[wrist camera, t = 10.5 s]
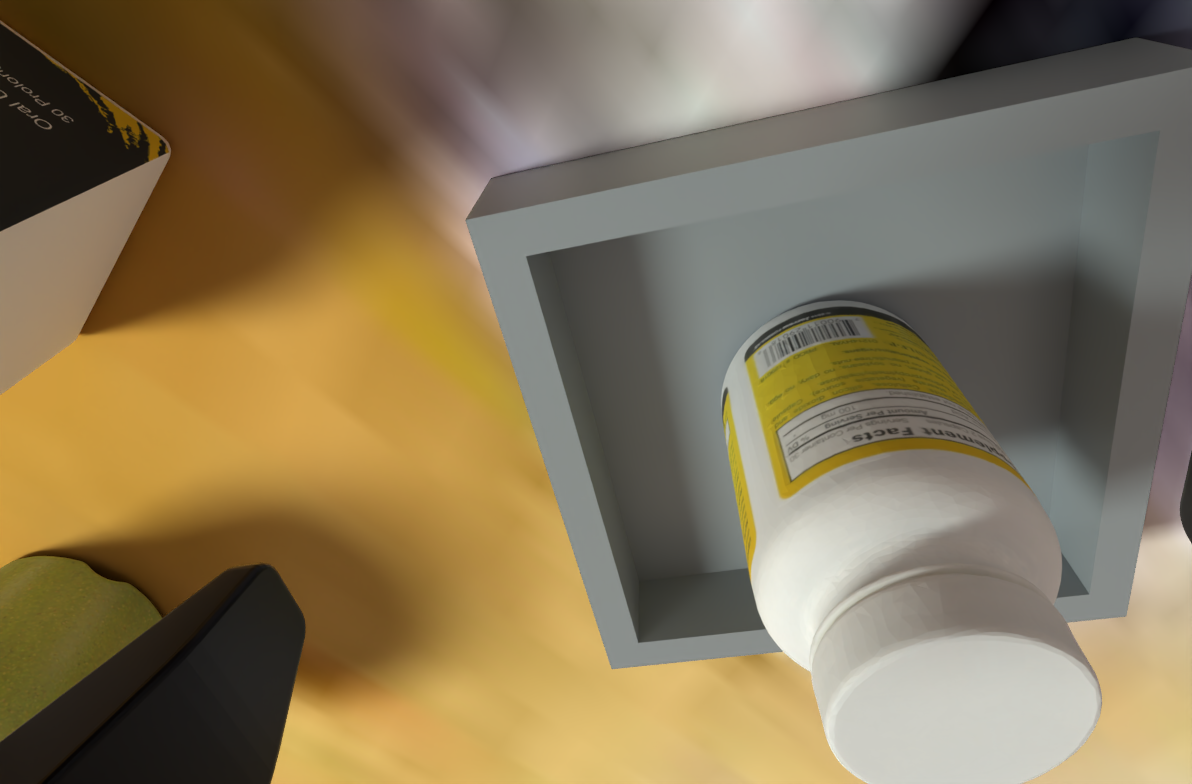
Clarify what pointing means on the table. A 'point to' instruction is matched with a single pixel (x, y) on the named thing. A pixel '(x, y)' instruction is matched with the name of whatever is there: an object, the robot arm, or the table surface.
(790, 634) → the supplement bottle
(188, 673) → the robot arm
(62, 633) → the plant pot
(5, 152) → the medicine bottle
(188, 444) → the table surface
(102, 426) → the table surface
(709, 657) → the slate tray
